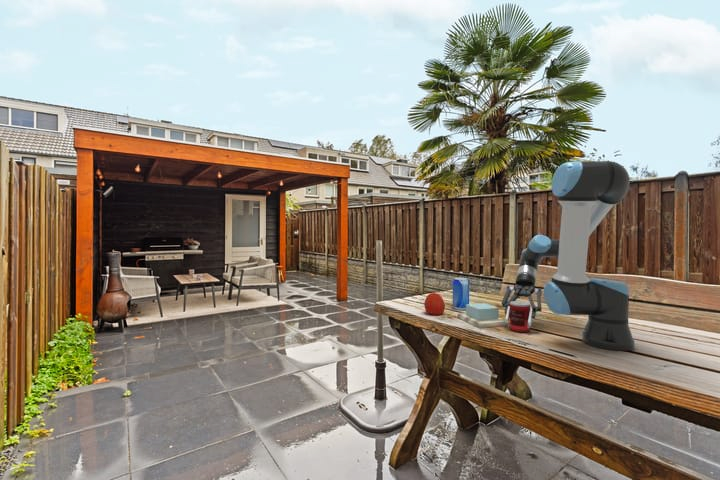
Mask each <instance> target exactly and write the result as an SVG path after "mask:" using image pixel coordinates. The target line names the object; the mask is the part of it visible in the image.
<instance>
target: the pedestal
mask: <svg viewBox="0 0 720 480" xmlns="http://www.w3.org/2000/svg"><path fill="white" fill-rule="evenodd" d="M499 310H500V309H499V307H498V306H494V305H491V304H489V303H469V304H466V310H465V313H466V315H467V316H469V317H471V318H473V319H476V320H478V321H481V320H494V319H499V318H500V317H499V315H500V314H499Z"/></svg>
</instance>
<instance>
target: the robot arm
mask: <svg viewBox="0 0 720 480" xmlns="http://www.w3.org/2000/svg"><path fill="white" fill-rule="evenodd" d="M551 180H552V181H551V183H550V184H551V191H552V194H553V196H555V197H557V202H558V203H559V205H561V206H562V207H561V218H560V232H559V239H550V237H548V236H546V235H543V234H537V235H535V236H534V237H533V238H532V239H530V241H529V243H528V246H527V247H526V248H524V249H523V250H522V251H521V254H520V257H519V258H520V259H519V264H518V270H517V274H516V279H515V283H514V285H513V286H510V285H506V290H505V291H506V292H505V294H504V296H503V298H502V301H501V306H502V308H504V315H506V316H505V320H506V322H507V323H508V324H510V302H512V301H518V300H517V299H519V298H520V297H525V298H528V302H529V303H530V313H529V319H528V324H529V326H530V327H531V326H532V322H533V319H536V315H537V312H542V310H543V309H542V297H541V296H542V294H543V298H544V301H545V304H546V306H547V307H548V309H549V311H550V312H552V313H553V314H556V315H561V316H587V317H588V319H587V322H586V325H585V326H584V327H585V328H584V330H583V332H582V337H581V338H582V342H584V343H586V344H587V345H589V346H591V347H596V348H600V349H604V350H608V351H609V350H610V351H620V352H621V351H622V352H623V351H625V352H627V351H633V350H634V349H635V340H634V338H633V335H632V332H631V327H630V325H629V308H630V307H629V304H630V302H629V301H630V297H631V296H630V292H629V291H630V290H629V286H628V284H627V283H625V282H622V281H616V280H611V279H605V278H604V279H603V278H596V277H590V278H589V277H588V276H587V275H586V274H587V273H586V272H587V261H588V260H587V259H588V250H589V249H588V248H589V242H590V241H589V239H590V236H591V235H592V233H593V232H594V231H595V230H596V228H597V227H598V226H599V225H600V223H601V221H603V219H604V218H605V217H606V216H607V214H608V213H609V212H610V210H611V209H612V208H613V207H614V206H615V205H618V204H620V203H621V202H622V200H623V199H624V198H625V197H626V195H627V193H628V191H629V189H630V184H631V180H630V175H629V172H628V171H627V169H626V168H625V167H624V166H623V165H622V164H620V163H618V162H615V161H611V160H603V161H599V160H598V161H597V160H595V161H594V160H593V161H592V160H591V161H589V160H587V161H586V160H584V161H583V160H576V161H566V162H564V163H562V164H561V165H559V167H558V168H556V170H555V172H554V174H553V176H552V179H551ZM543 258H557V268H556V272H554V274H552V275H551V281H547V282H546V283H545V285H544V286H543V290H542V288H536V287H535V286H536V279H537V273H538V267H539V264H540V263H541V262H542V260H543ZM513 291H514V293H513V294H512V295H511V293H512V292H513ZM534 293H535V295H536V303H537V305H535V302H534V300H533V297H532V295H533V294H534Z"/></svg>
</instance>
